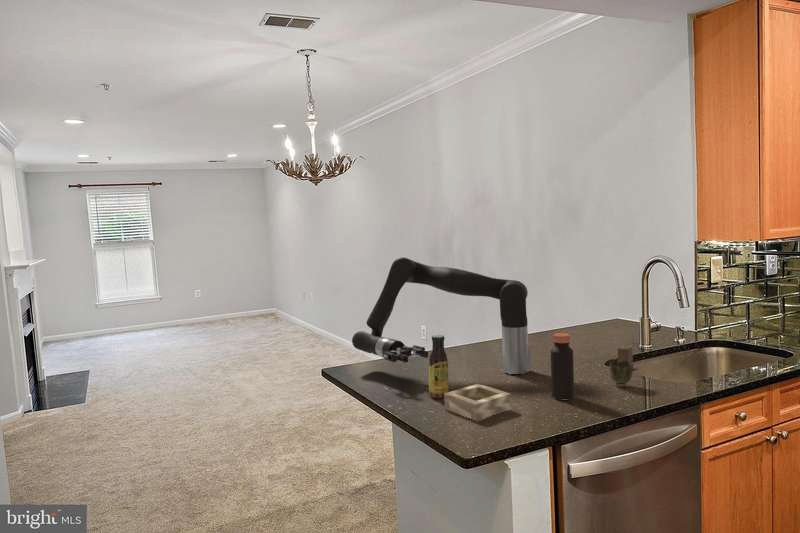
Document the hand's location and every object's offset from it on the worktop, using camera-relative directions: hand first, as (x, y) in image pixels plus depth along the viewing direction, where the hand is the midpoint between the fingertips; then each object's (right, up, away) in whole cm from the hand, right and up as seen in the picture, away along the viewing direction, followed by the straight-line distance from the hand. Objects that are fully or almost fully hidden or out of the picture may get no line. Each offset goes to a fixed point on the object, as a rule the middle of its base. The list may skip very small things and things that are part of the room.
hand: (417, 357), depth 198 cm
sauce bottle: (+7, -12, -8) cm, 16 cm away
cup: (+66, -9, -7) cm, 67 cm away
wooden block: (+75, -7, +13) cm, 77 cm away
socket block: (+17, -12, -22) cm, 31 cm away
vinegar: (+45, -11, -15) cm, 49 cm away
